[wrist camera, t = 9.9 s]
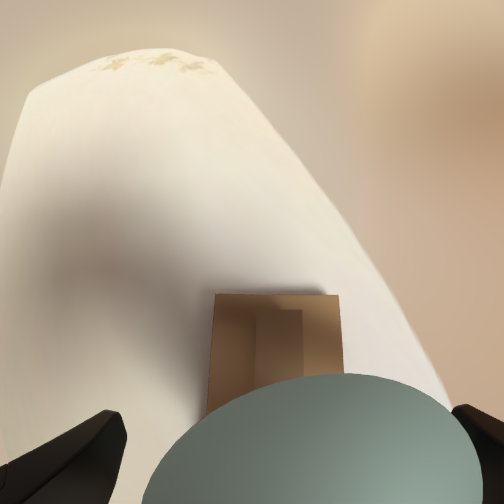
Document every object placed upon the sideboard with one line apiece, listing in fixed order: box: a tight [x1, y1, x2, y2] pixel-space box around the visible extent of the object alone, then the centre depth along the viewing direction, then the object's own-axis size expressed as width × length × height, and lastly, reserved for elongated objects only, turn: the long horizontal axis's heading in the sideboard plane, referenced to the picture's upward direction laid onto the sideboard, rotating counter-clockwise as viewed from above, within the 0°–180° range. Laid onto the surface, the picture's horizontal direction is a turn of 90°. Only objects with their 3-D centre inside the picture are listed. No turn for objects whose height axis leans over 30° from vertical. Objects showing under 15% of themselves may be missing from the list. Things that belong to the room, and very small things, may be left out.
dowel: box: [142, 373, 483, 504], centre depth 8 cm, size 4×4×12 cm
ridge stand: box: [207, 294, 344, 415], centre depth 15 cm, size 20×8×4 cm, turn 178°
